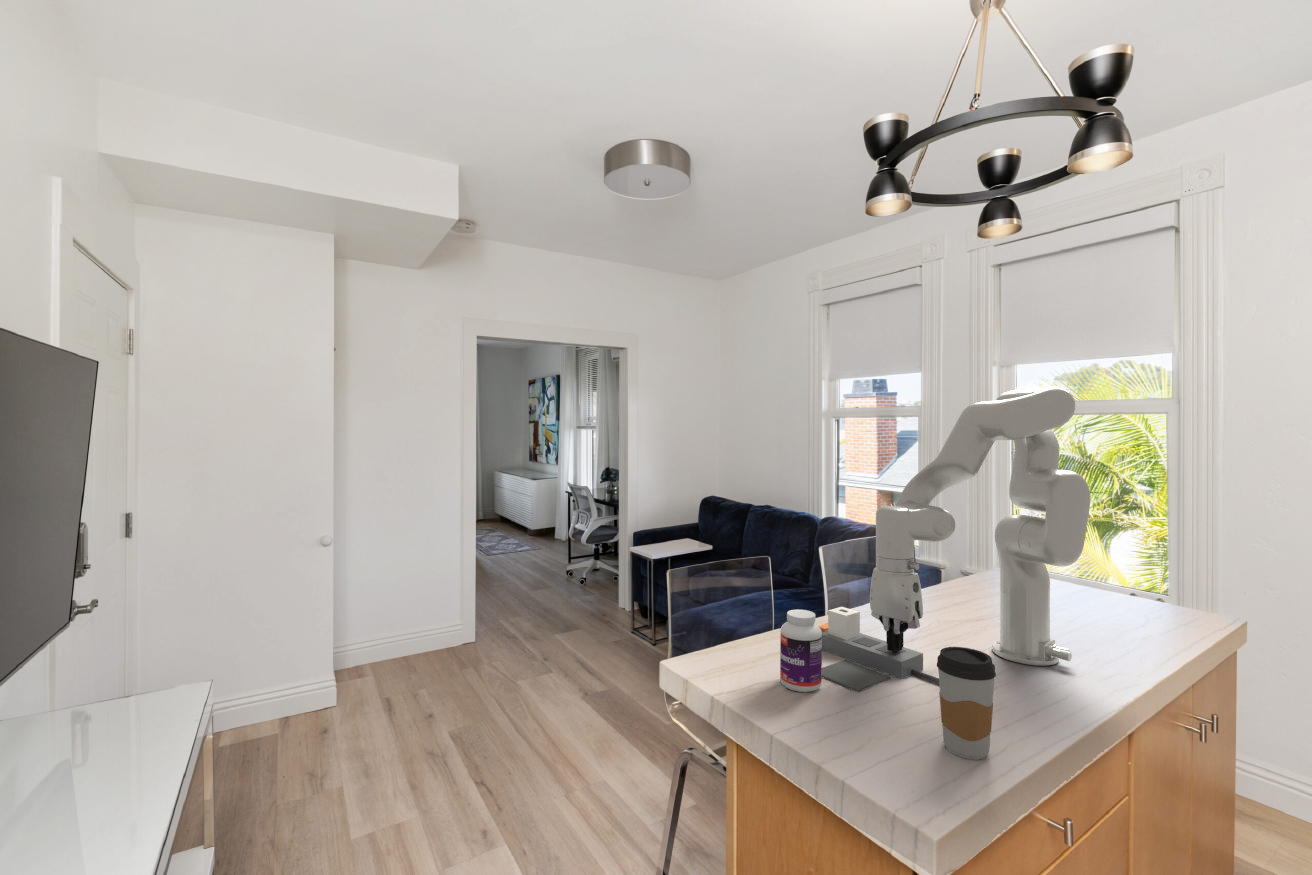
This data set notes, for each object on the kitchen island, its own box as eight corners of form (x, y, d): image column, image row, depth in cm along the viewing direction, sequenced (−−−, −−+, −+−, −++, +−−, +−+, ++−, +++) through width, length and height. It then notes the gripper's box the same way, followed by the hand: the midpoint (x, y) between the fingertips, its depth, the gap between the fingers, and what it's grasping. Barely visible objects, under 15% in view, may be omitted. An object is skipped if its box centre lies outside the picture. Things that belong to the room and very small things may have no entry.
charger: (859, 635, 133) (859, 611, 133) (846, 639, 130) (846, 615, 130) (841, 629, 137) (841, 605, 137) (828, 633, 135) (828, 609, 135)
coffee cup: (989, 740, 94) (989, 648, 94) (1002, 768, 86) (1002, 668, 86) (933, 732, 97) (933, 643, 97) (940, 758, 89) (940, 661, 89)
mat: (890, 678, 118) (890, 676, 118) (857, 692, 112) (857, 690, 112) (845, 661, 127) (845, 659, 127) (812, 673, 121) (812, 671, 121)
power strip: (981, 689, 113) (981, 668, 112) (960, 700, 108) (960, 678, 108) (830, 637, 142) (830, 620, 142) (808, 644, 137) (808, 626, 137)
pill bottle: (771, 683, 116) (771, 612, 116) (797, 673, 121) (797, 604, 121) (804, 698, 109) (804, 622, 109) (830, 686, 114) (830, 614, 114)
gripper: (938, 568, 119) (938, 656, 119) (874, 556, 132) (874, 636, 132) (918, 573, 115) (918, 665, 115) (853, 560, 127) (854, 643, 127)
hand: (894, 649), depth 123 cm, fingers closed
